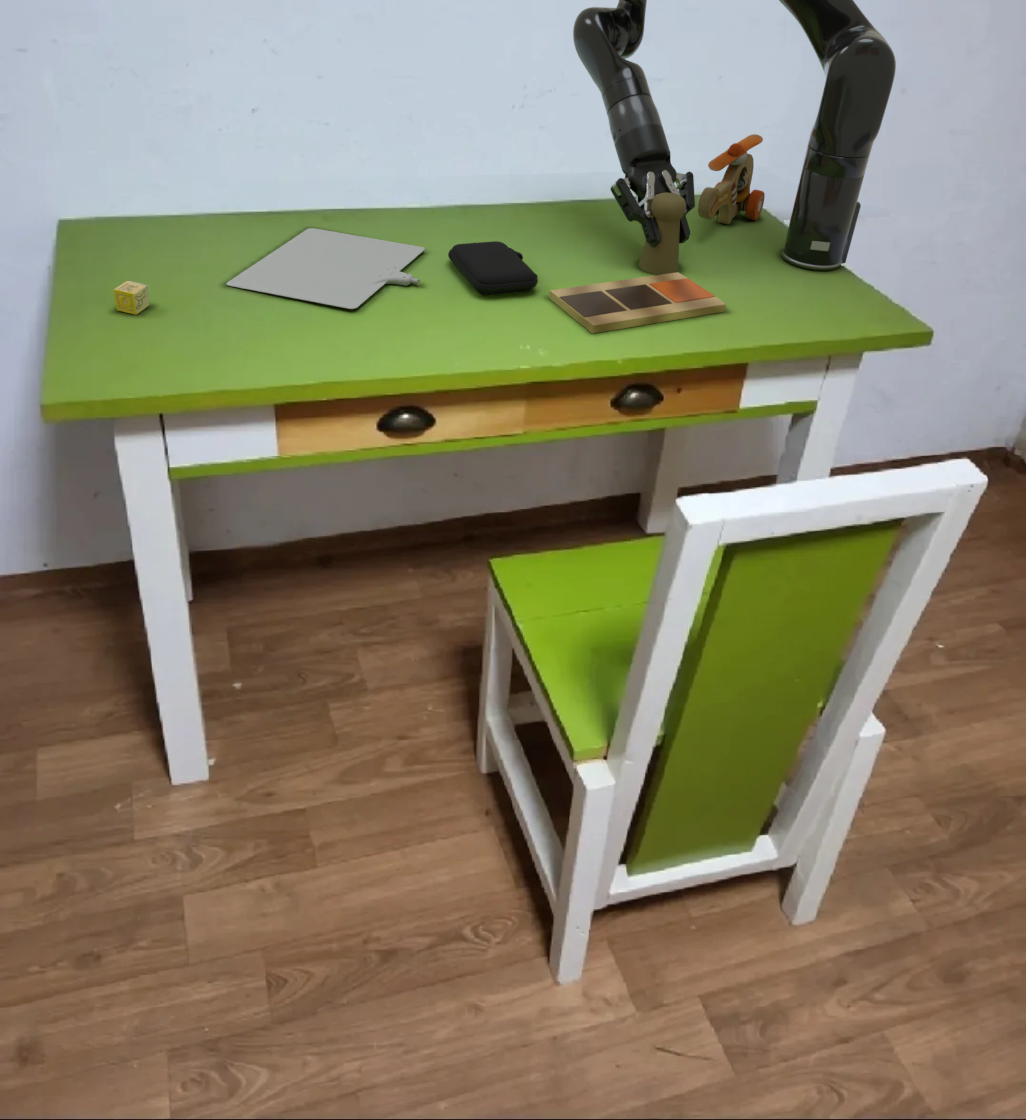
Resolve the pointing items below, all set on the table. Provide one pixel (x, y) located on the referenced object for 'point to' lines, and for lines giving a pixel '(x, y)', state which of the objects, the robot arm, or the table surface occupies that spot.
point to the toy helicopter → (733, 185)
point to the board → (636, 302)
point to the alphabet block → (131, 297)
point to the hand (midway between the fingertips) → (670, 242)
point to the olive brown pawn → (664, 235)
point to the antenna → (330, 268)
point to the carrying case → (493, 268)
